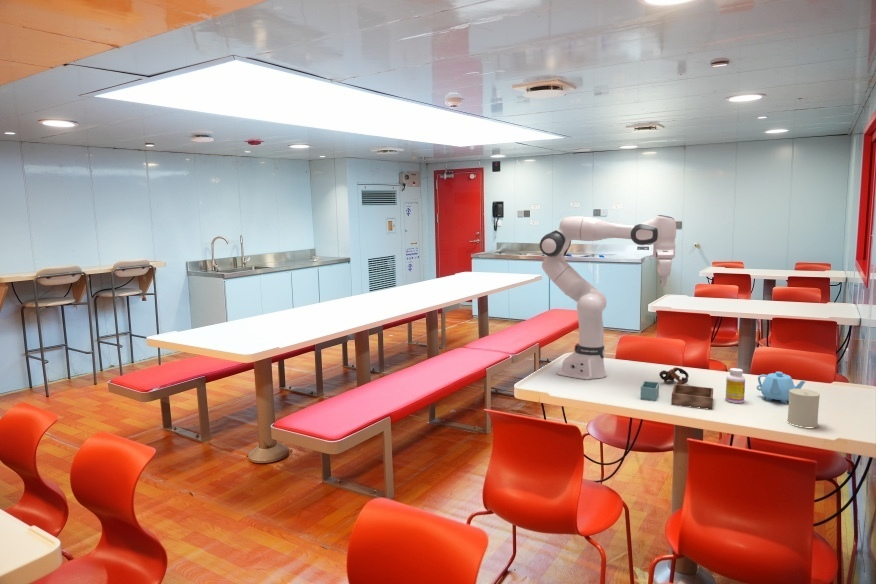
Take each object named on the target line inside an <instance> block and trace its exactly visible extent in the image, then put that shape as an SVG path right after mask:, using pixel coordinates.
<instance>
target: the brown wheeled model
mask: <svg viewBox="0 0 876 584" xmlns="http://www.w3.org/2000/svg"><path fill="white" fill-rule="evenodd" d="M676 372H679V374H681V375H684V376H685V377H681V376H680V375H679V374H677V373H676ZM658 376H659V378H660V379H661V380H662V381H663V383H667V381H672V382H674V381H675V380H676V381H678V382H677V383H676V384H679V385H686V384H687V383H688V382H689V373H688V372H687V371H686V370H684V369H683V368H680V367H673V368H672V369H670V370H661V371H659V375H658ZM680 378H681V379H680Z"/></svg>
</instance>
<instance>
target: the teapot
mask: <svg viewBox="0 0 876 584" xmlns="http://www.w3.org/2000/svg"><path fill="white" fill-rule="evenodd" d="M762 377H765V378H764V379H763V381H762V382H761V378H762ZM757 381H758V384H759V385H757V386H756V389H757V391H759V392H760V391H761V395H762V396H763V397H764V398H765V399H764V400H765V401H766V400H768V402H770V401H771V402H772V400H777V401H780V404H784V403H787V404H788V402H789V390H790V389H802V387H803V386H804V384H806V381H805V380H800V382H798V384H797V385H796V386H795V384H794V380H793V378H792V376H790V375H789V374H786V373H783V371H775V373H774V372H772V373H768V374H763V373H762V374H760V375H759V376H758V377H757Z"/></svg>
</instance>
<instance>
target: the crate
mask: <svg viewBox="0 0 876 584" xmlns="http://www.w3.org/2000/svg"><path fill="white" fill-rule="evenodd" d="M713 400H714V387H704V386H696V385H687V384H683V385H679V384H677V383H676V384H674V385H673V389H672V391H671V400H670V401H671V402H670V403H671V404H670V405H672V406H679V405H681V407H687V406H691V407H690V408H695V407H700V408H699V409H703V408H708V409H707V410H711V409H712V410H713V402H714V401H713Z"/></svg>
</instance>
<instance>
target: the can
mask: <svg viewBox="0 0 876 584" xmlns="http://www.w3.org/2000/svg"><path fill="white" fill-rule="evenodd" d="M820 395H821V394H820V393H819V392H818V391H815V390H813V389H807V388H806V389H805V388H801V389H790V390H789V400H788V408H787V409H788V410H787V419H786V422H787V421H788V422H789V423H791V424H794V425H798V426H802V427H817V426H819V425H818V422H819V407H820ZM817 428H818V427H817Z"/></svg>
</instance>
